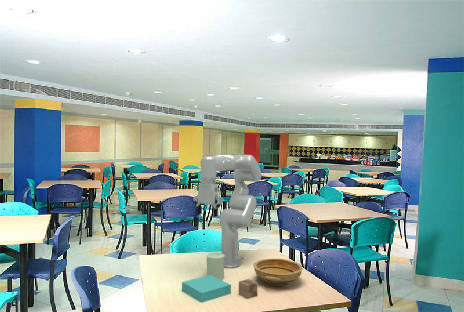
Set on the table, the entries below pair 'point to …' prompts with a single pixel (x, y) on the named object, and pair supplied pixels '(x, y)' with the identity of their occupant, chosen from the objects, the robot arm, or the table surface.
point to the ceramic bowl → (277, 271)
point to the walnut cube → (248, 288)
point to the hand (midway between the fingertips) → (207, 215)
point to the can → (215, 265)
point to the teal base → (206, 288)
